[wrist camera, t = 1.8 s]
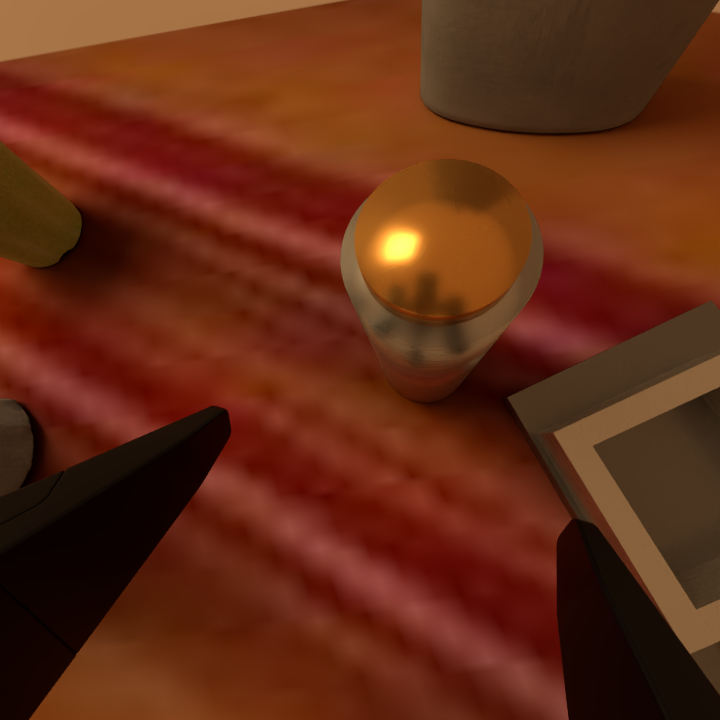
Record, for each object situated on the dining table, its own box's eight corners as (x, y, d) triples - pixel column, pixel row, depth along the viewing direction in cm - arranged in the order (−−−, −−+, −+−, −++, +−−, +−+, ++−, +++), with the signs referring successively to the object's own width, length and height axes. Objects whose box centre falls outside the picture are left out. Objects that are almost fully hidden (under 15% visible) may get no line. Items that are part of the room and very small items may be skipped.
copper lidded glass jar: (481, 380, 20) (605, 271, 7) (405, 416, 21) (388, 376, 7) (441, 310, 22) (483, 109, 9) (370, 345, 22) (302, 201, 9)
